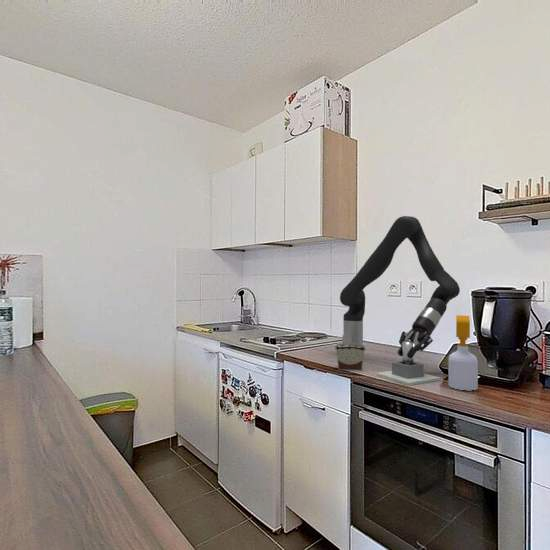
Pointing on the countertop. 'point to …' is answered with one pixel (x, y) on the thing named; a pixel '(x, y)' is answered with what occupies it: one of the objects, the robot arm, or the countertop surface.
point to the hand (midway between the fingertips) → (404, 355)
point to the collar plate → (408, 374)
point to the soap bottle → (463, 360)
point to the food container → (350, 356)
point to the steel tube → (405, 349)
